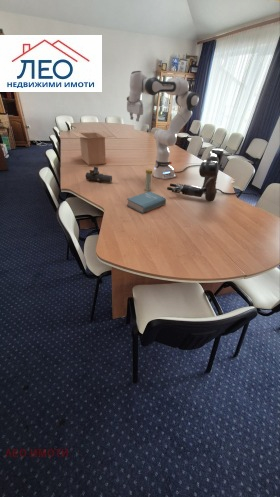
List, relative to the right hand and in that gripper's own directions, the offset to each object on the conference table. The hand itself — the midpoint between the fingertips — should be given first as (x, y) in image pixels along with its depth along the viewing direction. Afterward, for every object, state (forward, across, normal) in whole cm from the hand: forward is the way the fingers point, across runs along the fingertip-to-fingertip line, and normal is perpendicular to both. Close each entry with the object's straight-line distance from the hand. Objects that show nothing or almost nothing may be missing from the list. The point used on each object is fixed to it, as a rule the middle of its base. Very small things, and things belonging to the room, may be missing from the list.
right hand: (168, 186), depth 173 cm
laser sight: (+61, +2, +6) cm, 61 cm away
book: (+8, +27, +6) cm, 29 cm away
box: (+95, -48, +7) cm, 107 cm away
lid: (+17, 0, -10) cm, 20 cm away
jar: (+17, 0, +6) cm, 18 cm away
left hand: (+37, -16, -40) cm, 57 cm away
